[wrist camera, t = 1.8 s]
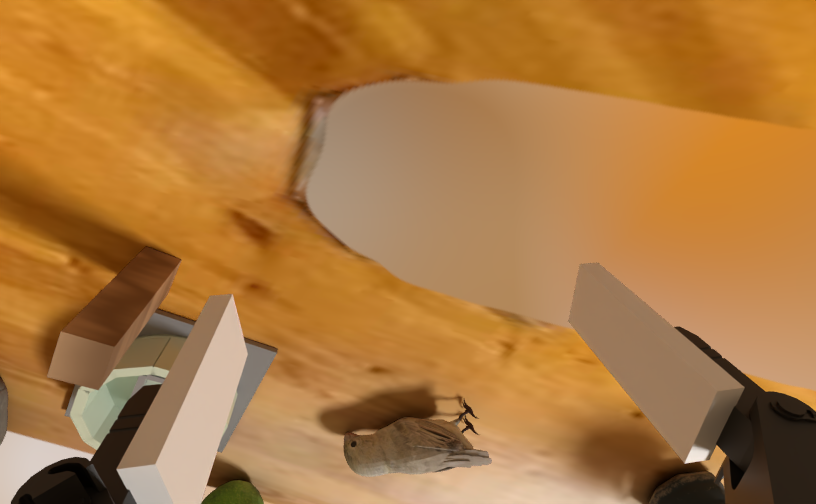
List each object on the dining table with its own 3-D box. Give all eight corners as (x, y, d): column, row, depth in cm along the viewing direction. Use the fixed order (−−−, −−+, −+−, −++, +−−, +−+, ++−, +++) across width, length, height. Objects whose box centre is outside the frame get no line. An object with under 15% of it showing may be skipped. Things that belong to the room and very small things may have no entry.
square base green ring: (68, 411, 42) (34, 455, 37) (108, 292, 37) (75, 327, 32) (223, 447, 47) (210, 490, 43) (277, 349, 42) (269, 386, 38)
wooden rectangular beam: (133, 281, 37) (46, 376, 26) (145, 246, 35) (60, 331, 25) (167, 293, 38) (98, 390, 27) (181, 259, 36) (114, 347, 26)
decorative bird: (340, 417, 48) (339, 475, 41) (471, 391, 49) (491, 444, 43) (348, 447, 51) (348, 507, 44) (473, 422, 52) (492, 476, 45)
